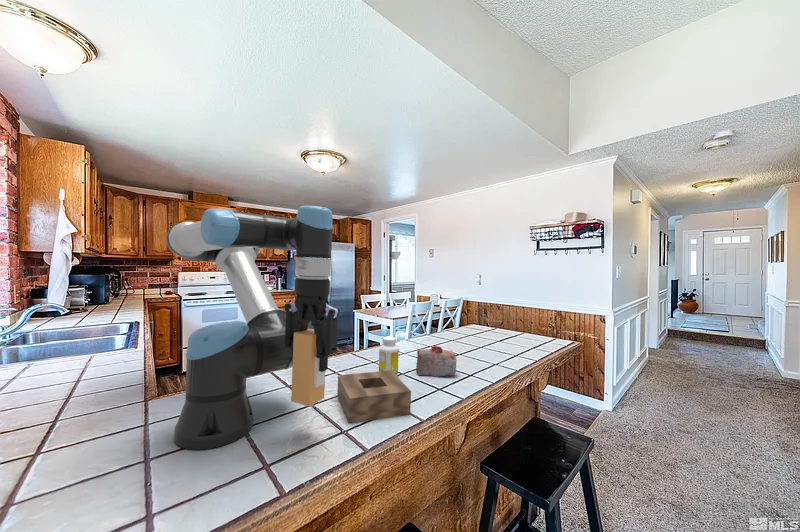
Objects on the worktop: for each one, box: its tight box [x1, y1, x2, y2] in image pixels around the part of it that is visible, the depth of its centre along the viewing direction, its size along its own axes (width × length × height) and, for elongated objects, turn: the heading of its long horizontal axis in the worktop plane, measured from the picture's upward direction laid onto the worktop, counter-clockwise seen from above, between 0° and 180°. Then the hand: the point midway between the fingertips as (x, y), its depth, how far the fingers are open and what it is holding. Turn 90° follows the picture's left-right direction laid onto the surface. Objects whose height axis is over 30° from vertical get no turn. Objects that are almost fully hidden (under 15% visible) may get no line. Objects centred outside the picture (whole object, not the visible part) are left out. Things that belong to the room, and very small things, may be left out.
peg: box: [290, 328, 326, 407], centre depth 70 cm, size 5×5×15 cm
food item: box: [415, 345, 458, 378], centre depth 113 cm, size 14×8×10 cm, turn 91°
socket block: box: [336, 370, 412, 424], centre depth 87 cm, size 16×16×6 cm
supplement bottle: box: [378, 336, 400, 377], centre depth 109 cm, size 7×7×13 cm
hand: (308, 382), depth 70 cm, fingers closed on peg, 5 cm apart
